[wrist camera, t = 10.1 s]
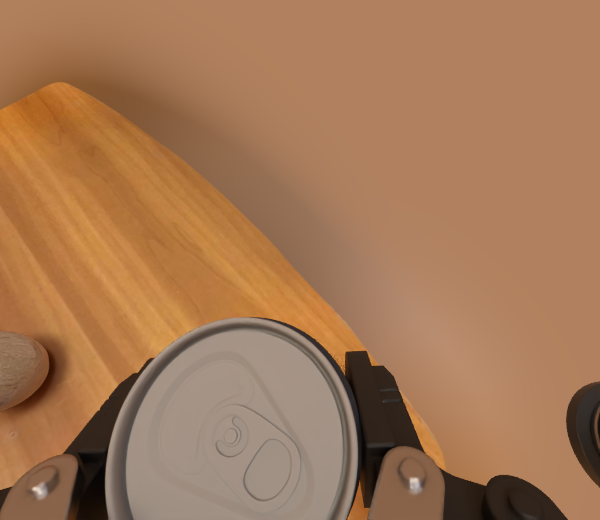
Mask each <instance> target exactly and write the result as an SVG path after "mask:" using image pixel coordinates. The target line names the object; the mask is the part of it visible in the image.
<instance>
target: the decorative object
mask: <svg viewBox="0 0 600 520" xmlns="http://www.w3.org/2000/svg"><path fill="white" fill-rule="evenodd" d="M48 371H49V357H48V354H47V351H46V350H45V348H44V347H43V346H42V345H41V344H40V343H38V342H37V341H36V340H34V339H32V338H30V337H28V336H26V335H24V334H20V333H15V332H8V331H0V412H2V411H4V410H6V409H9V408H11V407H13V406H15V405H17V404H19V403H21V402H22V401H24V400H26V399H27V398H28V397H30V396H31V395H32V394H33V393H34V392H35V391H36V390H37V389H38V388H39V387H40V386H41V385H42V383H43V382H44V380H45V378H46V377H47V374H48Z"/></svg>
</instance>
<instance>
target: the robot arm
mask: <svg viewBox="0 0 600 520" xmlns="http://www.w3.org/2000/svg"><path fill="white" fill-rule="evenodd" d="M153 359H154V358H150V359H149V360H148V361H147V362H146V363H145V364H144V366H143V367H142V368H141V370H140V371H139V372H138V373H134V374H132V375H131V376H130V377H128V378H127V379H126V380H124V381H123V382H122V383H120V384H119V385H118V387H117V388H116V389H115V390H114V392H113V393H112V394H111V395H110V396H109V399H108V400H106V401H105V403H104V404H103V405H102V406H101V408H100V411H97V413H96V414H95V415H94V416H93V417H92V419H91V420H90V421H89V422H88V424H87V425H86V426H85V427H84V429H83V430H82V431H81V432H80V433H79V435H78V436H77V437H76V438H75V440H74V441H73V442H72V443H71V445H70V446H69V447H68V448H67V449H66V451H65V452H64V453H63V454H62V455H57V456H54V457H51V458H49V459H47V460H45V461H43V462H41V463H39V464H38V465H36V466H34V467H33V468H32V469H30V470H29V471H28V472H26V473H25V474H24V475H23V476H22V477H21V478H20V479H19V480H18V481H17V482H16V483H15V484H14V486H12V487H9V488H6V489H3V490H0V520H108V519H109V517H108V512H107V505H106V493H105V474H106V462H107V455H108V449H109V444H110V440H111V436H112V432H113V429H114V426H115V423H116V420H117V417H118V415H119V412H120V410H121V408H122V406H123V403H124V401H125V399H126V397H127V396H128V394H129V392H130V390H131V389H132V387H133V385H134V384H135V382H136V381H137V379H138V378H139V376H140V375H141V374H142V372H143V371H144V370H145V368H146V367H147V366H148V365H149V364H150V363H151V362H152V360H153ZM345 377H346V379H347V381H348V383H349V385H350V387H351V390H352V392H353V395H354V398H355V401H356V404H357V408H358V412H359V418H360V425H361V435H362V448H363V455H362V468H361V475H360V485H361V491H362V496H363V502H364V508H370V510H369V514H368V518H367V520H568V519H567V518H566V517H565V516H564V515H563V513H562V512H561V511H560V510H559V508H558V507H557V506H556V505H555V504H554V503H553V501H552V500H551V499H550V498H549V497H548V496H547V495H546V494H544V493H543V492H542V491H541V490H539V489H538V488H537V487H535V486H534V485H532V484H531V483H529V482H527V481H525V480H523V479H520V478H518V477H514V476H509V475H499V476H495V477H493V478H491V479H490V481H489V482H488V483H487V486H484V485H481V484H478V483H474V482H471V481H468V480H464V479H461V478H458V477H455V476H453V475H451V474H449V473H447V472H445V471H444V470H442V469H440V468H439V467H438V466H437V465H436V463H435V462H434V461H433V460H432V459H431V458H430V457H429V456H428V455H426V453H425V452H424V450H423V448H422V446H421V443H420V441H419V438H418V436H417V433H416V431H415V429H414V426H413V424H412V421H411V419H410V416H409V414H408V411H407V409H406V406H405V404H404V403H403V399H402V396H401V394H400V392H399V389H398V386H397V384H396V381H395V379H394V376H393V375H392V374H391V373H390V372H389V371H388V370H387V369H386V368H385V367H384V366H371V363H370V360H369V357H368V354H367V352H366V351H352V352H346V353H345ZM590 428H591V436H592V440H593V443H594V446H595V448H596V451H597V453H598V455H599V457H600V402H599V403H598V404H597V405H596V406H595V408H594V410H593V412H592V415H591V422H590Z"/></svg>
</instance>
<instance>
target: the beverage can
mask: <svg viewBox="0 0 600 520" xmlns="http://www.w3.org/2000/svg"><path fill="white" fill-rule="evenodd" d="M362 455H363V448H362V435H361V425H360V418H359V412H358V408H357V404H356V401H355V398H354V395H353V392H352V390H351V387H350V385H349V383H348V381H347V379H346V377H345V375H344V373H343V372H342V370H341V368H340V367H339V365H338V364H337V363H336V361H335V360H334V359H333V357H332V356H331V355H330V354H329V353H328V352H327V350H326V349H325V348H324V347H323V346H322V345H321V344H319V343H318V342H317V341H316V340H315V339H313V338H312V337H311V336H309V335H308V334H306V333H305V332H303V331H301V330H299V329H298V328H296V327H293V326H291V325H289V324H286V323H283V322H280V321H277V320H273V319H267V318H258V317H241V318H229V319H223V320H218V321H215V322H211V323H208V324H205V325H203V326H200V327H198V328H196V329H194V330H192V331H190V332H188V333H186V334H184V335H183V336H181V337H180V338H178V339H177V340H175V341H174V342H172V343H171V344H170V345H169V346H167V347H166V348H165V349H164V350H163V351H162V352H160V353H159V354H158V355H157V356H156V357H155V358H154V359H153V360H152V362H151V363H150V364H149V365H148V366H147V367H146V368H145V370H144V371H143V372H142V374H141V375H140V376H139V378H138V379H137V381H136V382H135V384H134V385H133V387H132V389H131V390H130V392H129V394H128V396H127V397H126V399H125V401H124V403H123V406H122V408H121V410H120V412H119V415H118V417H117V420H116V423H115V426H114V429H113V432H112V436H111V440H110V444H109V449H108V455H107V462H106V474H105V493H106V505H107V512H108V517H109V520H347V518H348V516H349V513H350V511H351V508H352V506H353V503H354V500H355V497H356V493H357V489H358V485H359V480H360V475H361V468H362Z"/></svg>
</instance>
